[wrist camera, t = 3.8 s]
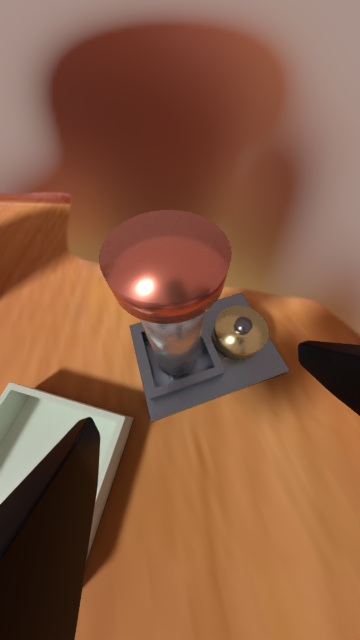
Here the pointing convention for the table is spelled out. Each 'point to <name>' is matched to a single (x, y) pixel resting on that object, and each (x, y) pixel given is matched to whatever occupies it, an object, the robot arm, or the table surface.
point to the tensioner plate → (211, 359)
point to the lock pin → (167, 278)
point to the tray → (54, 438)
